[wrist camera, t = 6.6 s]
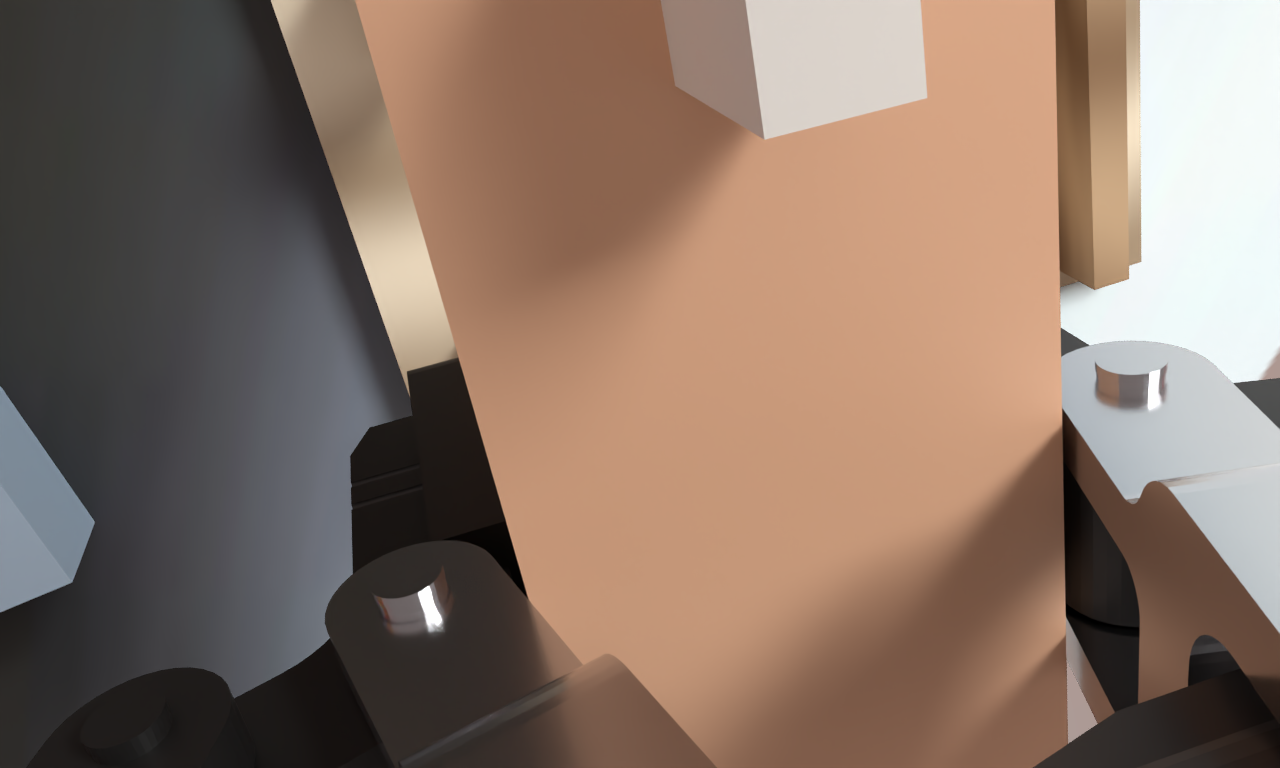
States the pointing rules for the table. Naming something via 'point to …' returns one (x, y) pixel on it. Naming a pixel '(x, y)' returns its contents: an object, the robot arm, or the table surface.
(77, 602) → the table surface
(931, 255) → the knobbed wooden block
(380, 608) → the robot arm
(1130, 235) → the jig
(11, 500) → the light blue rectangular block
